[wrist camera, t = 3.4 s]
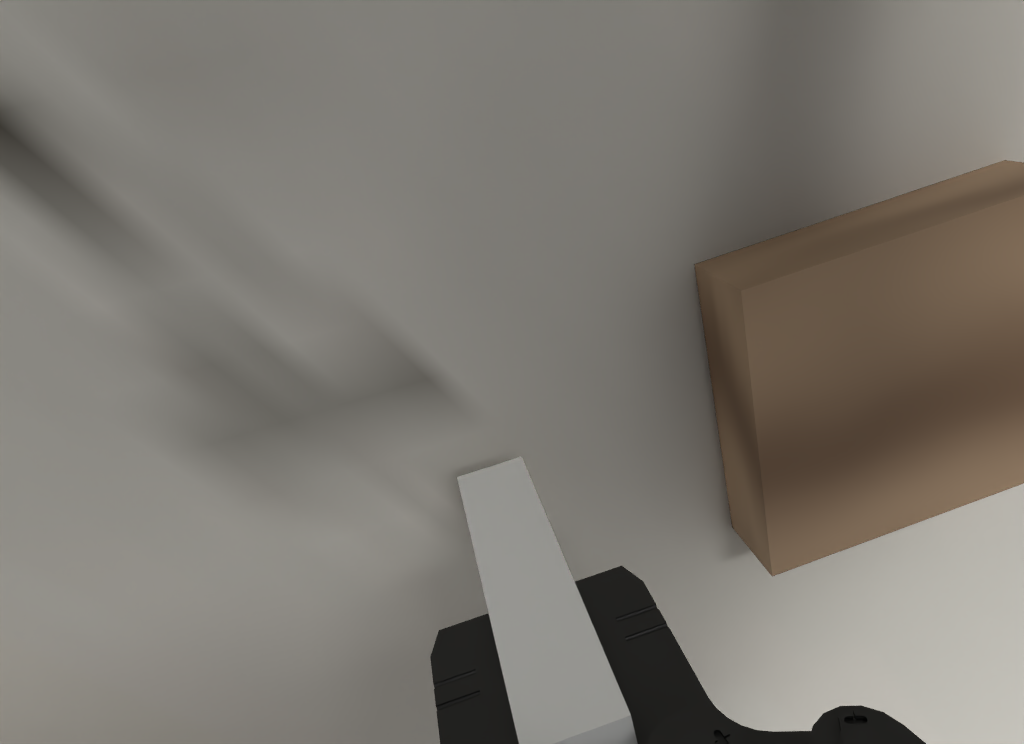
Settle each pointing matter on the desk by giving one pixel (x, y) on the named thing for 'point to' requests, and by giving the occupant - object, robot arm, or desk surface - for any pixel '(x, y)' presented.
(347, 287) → the desk surface
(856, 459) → the flat cardboard box
